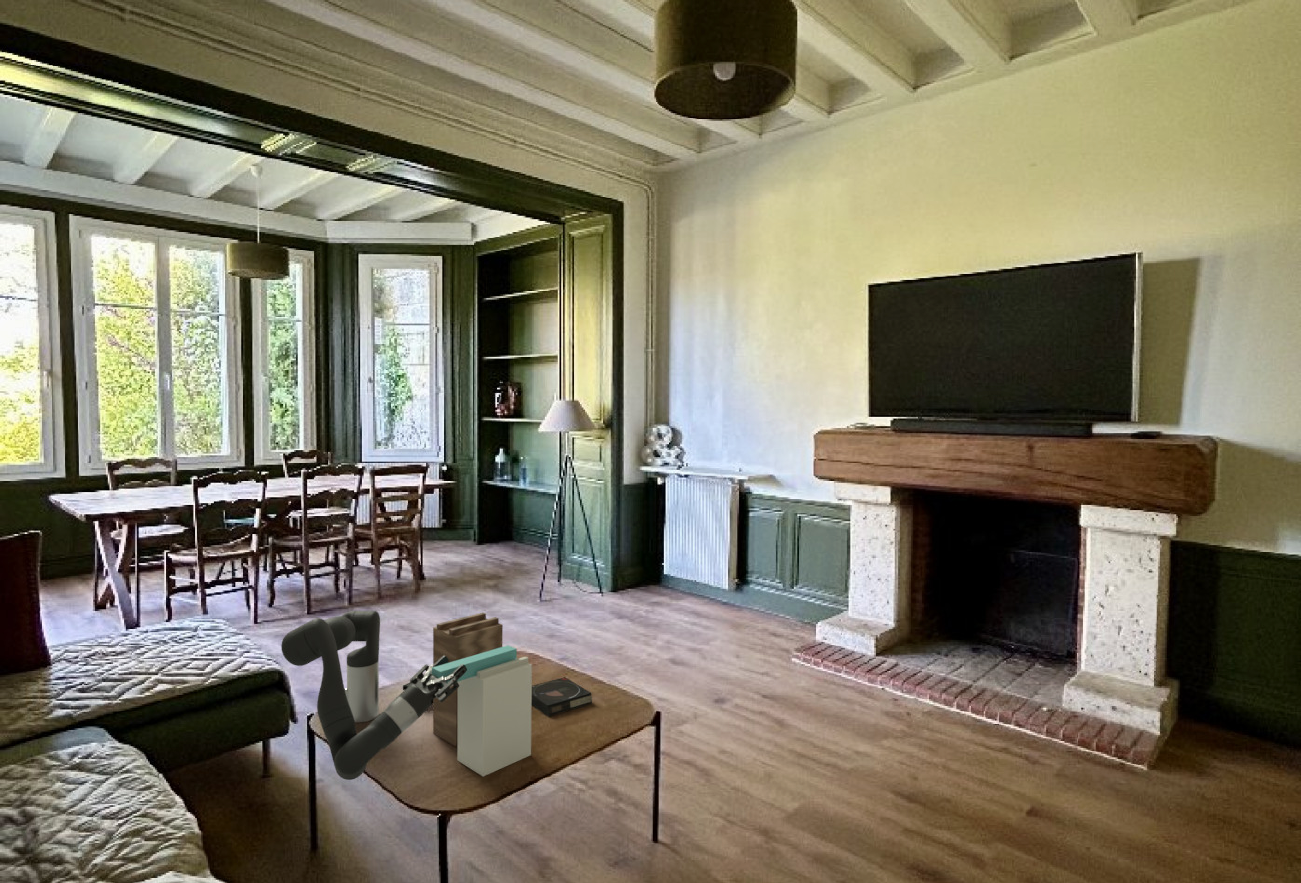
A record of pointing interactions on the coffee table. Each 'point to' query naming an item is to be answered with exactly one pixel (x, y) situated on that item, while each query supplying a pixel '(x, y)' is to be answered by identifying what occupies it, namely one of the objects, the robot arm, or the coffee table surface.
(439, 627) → the walnut plinth
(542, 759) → the coffee table surface
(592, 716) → the coffee table surface
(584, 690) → the portable cd player
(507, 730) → the grey plinth
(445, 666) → the teal bar
